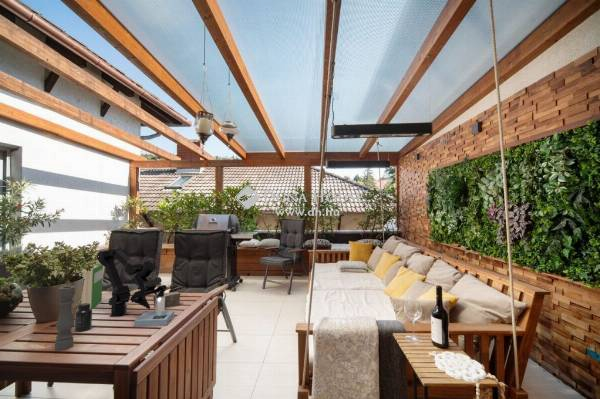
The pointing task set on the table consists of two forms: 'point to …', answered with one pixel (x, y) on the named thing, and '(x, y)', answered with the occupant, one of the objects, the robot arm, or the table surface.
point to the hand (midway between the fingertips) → (157, 306)
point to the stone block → (170, 299)
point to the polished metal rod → (159, 307)
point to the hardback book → (92, 286)
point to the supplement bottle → (83, 317)
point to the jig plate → (153, 319)
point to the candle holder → (65, 319)
